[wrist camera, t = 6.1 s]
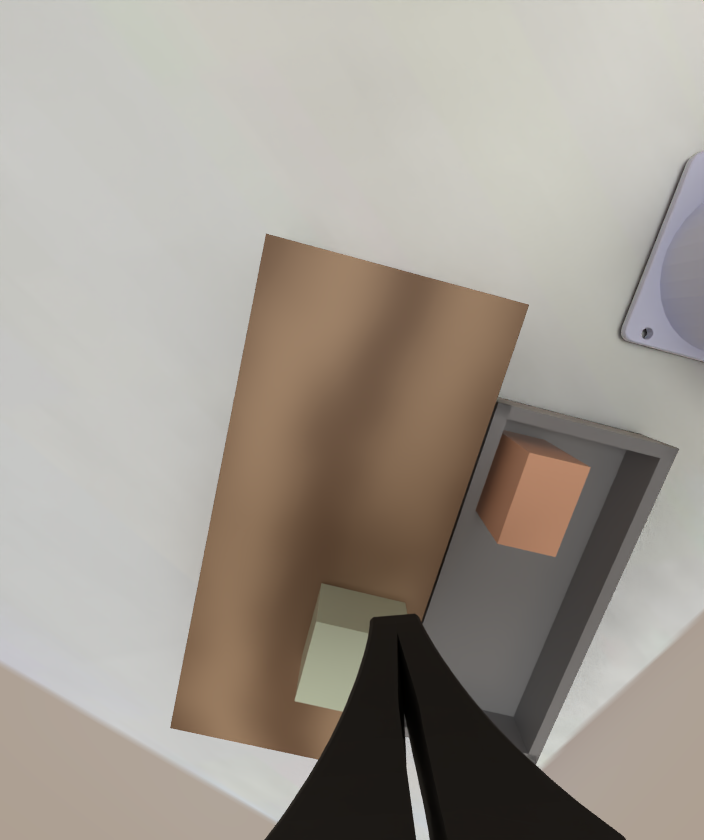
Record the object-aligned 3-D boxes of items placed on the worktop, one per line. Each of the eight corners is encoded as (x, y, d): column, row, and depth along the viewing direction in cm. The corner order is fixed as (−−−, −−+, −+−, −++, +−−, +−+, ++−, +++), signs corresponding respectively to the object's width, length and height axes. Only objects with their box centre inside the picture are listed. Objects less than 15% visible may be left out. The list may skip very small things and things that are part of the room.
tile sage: (405, 602, 19) (412, 643, 16) (382, 672, 20) (386, 720, 17) (321, 583, 19) (316, 621, 16) (302, 654, 20) (294, 701, 17)
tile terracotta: (495, 427, 20) (544, 439, 20) (470, 502, 21) (517, 513, 21) (529, 452, 16) (590, 467, 16) (497, 543, 17) (555, 557, 17)
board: (502, 308, 19) (528, 305, 16) (368, 716, 24) (370, 770, 21) (280, 248, 18) (266, 233, 15) (193, 678, 24) (170, 727, 21)
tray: (639, 434, 20) (679, 448, 18) (517, 720, 24) (535, 765, 22) (481, 392, 20) (498, 402, 17) (382, 690, 24) (385, 732, 21)
